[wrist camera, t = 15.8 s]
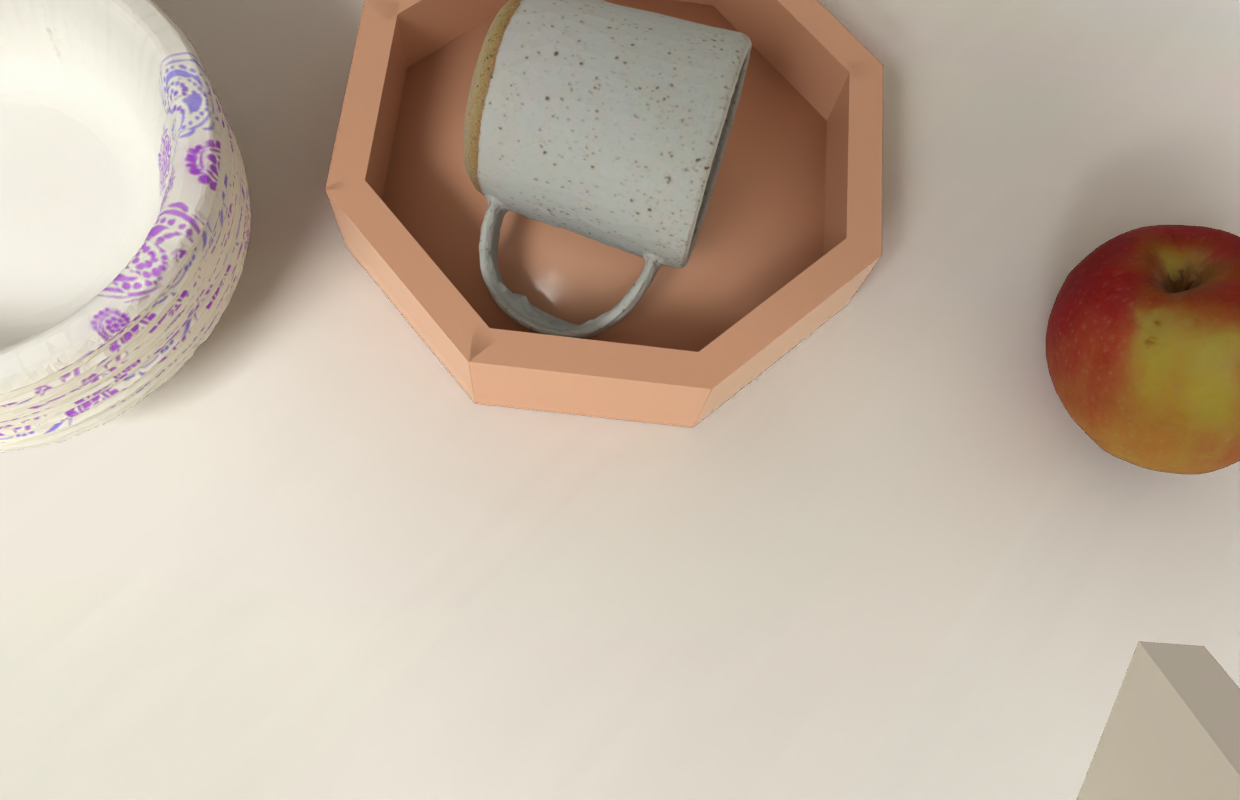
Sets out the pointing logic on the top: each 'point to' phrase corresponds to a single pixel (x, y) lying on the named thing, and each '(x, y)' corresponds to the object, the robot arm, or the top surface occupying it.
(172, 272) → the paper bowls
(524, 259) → the terracotta bowl
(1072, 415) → the apple
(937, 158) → the top surface
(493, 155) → the ceramic mug
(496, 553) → the top surface
